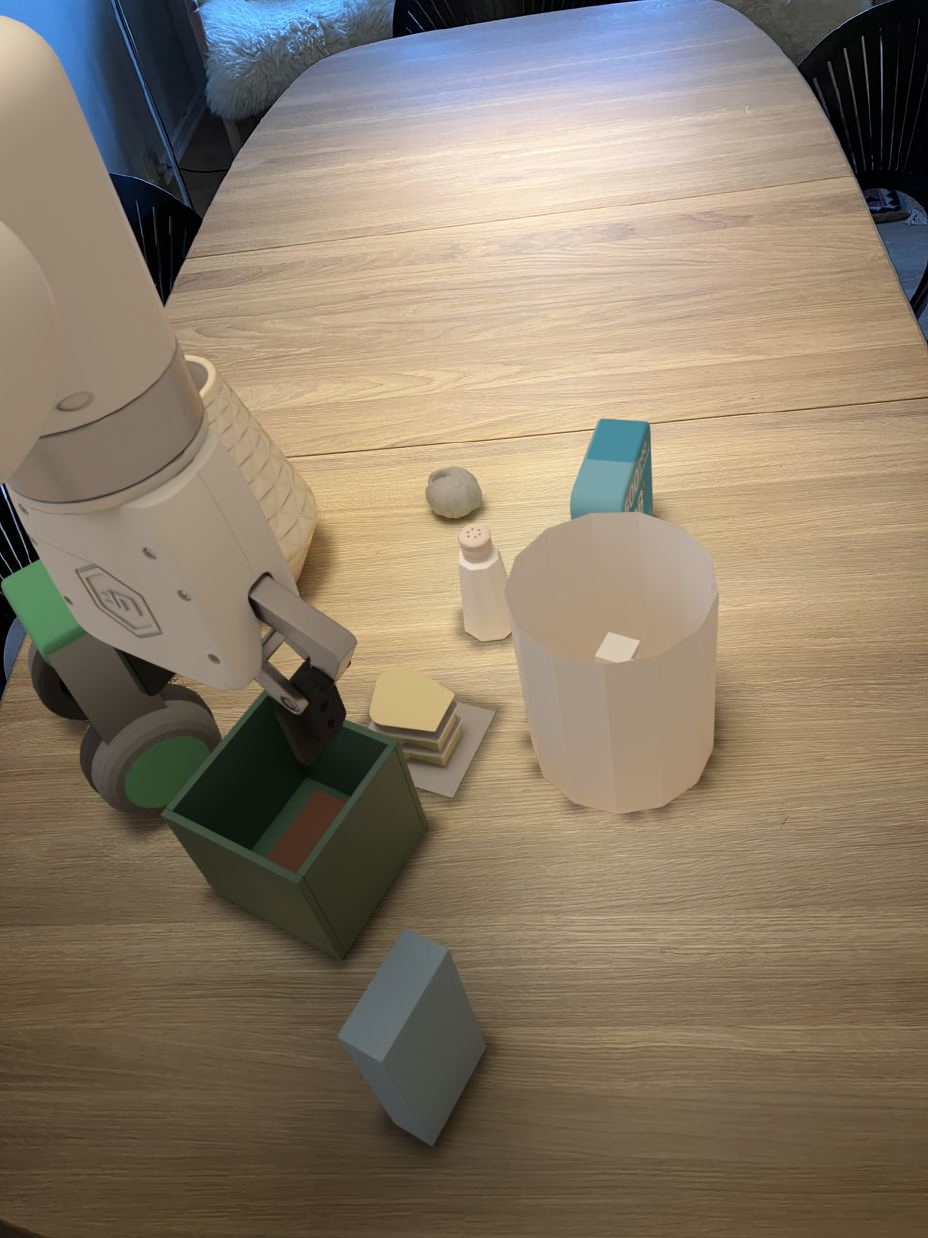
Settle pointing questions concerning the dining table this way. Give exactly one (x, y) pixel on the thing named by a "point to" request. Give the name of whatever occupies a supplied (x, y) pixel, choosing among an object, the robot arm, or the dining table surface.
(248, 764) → the bin
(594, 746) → the container
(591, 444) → the teal box
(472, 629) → the pepper shaker
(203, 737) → the headphones
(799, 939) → the dining table surface
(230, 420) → the vase
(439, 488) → the garlic
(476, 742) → the stacked layers on plate
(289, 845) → the reddish brown block
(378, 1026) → the grey-blue rectangular block
